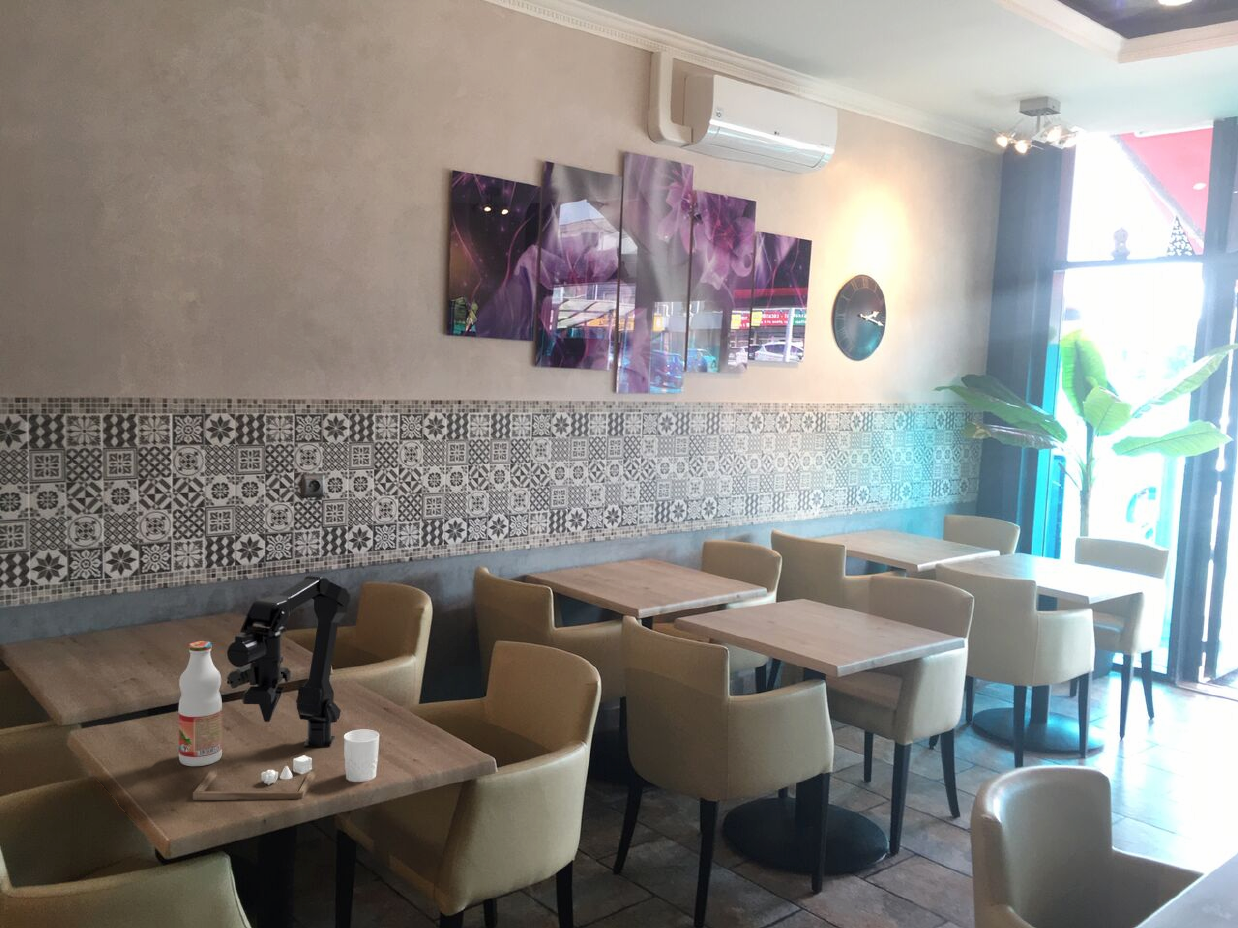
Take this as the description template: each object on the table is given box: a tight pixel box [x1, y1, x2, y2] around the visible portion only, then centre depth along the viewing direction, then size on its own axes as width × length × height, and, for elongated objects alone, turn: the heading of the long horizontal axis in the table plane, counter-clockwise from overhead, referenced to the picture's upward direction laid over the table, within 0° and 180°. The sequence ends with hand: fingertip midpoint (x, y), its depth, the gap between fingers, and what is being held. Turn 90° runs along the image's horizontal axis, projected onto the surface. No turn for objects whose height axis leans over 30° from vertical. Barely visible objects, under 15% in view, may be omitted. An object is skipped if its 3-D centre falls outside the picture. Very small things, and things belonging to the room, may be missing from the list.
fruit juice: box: [178, 640, 223, 767], centre depth 235 cm, size 9×9×28 cm
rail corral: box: [192, 768, 316, 801], centre depth 223 cm, size 13×23×2 cm, turn 95°
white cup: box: [343, 728, 380, 783], centre depth 230 cm, size 8×8×10 cm
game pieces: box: [260, 754, 313, 786], centre depth 229 cm, size 12×3×3 cm, turn 144°
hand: (267, 721), depth 230 cm, fingers closed
